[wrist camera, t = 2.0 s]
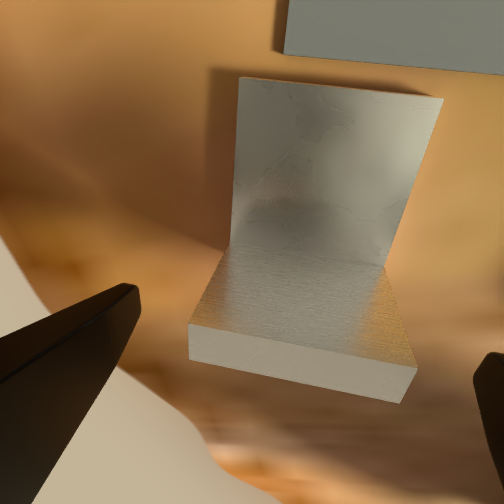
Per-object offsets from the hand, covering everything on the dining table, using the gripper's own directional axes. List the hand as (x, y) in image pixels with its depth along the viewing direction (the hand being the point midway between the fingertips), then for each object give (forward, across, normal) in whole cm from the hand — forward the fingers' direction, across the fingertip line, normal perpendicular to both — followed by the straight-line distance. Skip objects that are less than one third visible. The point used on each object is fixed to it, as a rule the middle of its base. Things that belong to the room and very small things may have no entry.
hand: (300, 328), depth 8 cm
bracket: (+4, 0, -2) cm, 4 cm away
